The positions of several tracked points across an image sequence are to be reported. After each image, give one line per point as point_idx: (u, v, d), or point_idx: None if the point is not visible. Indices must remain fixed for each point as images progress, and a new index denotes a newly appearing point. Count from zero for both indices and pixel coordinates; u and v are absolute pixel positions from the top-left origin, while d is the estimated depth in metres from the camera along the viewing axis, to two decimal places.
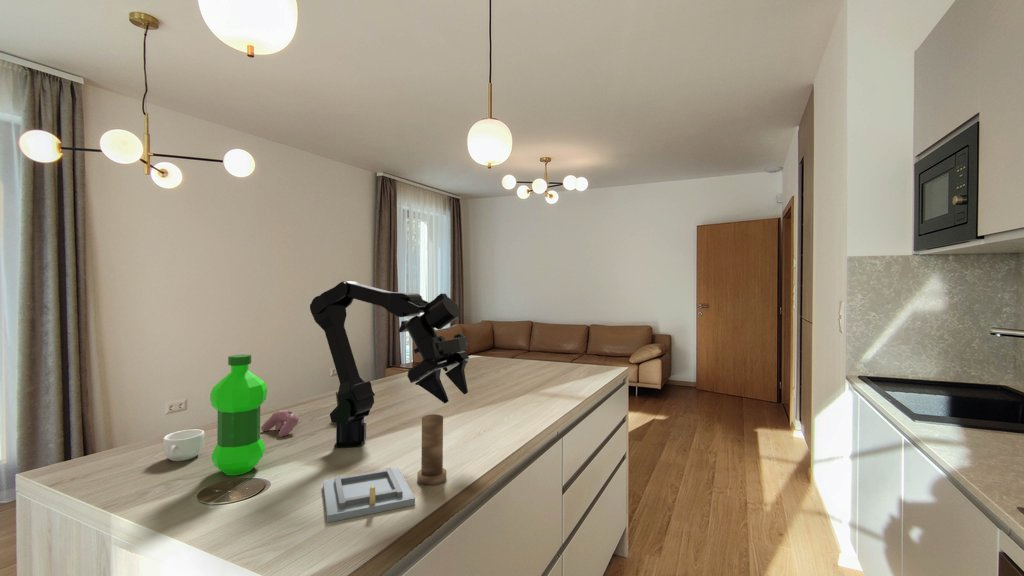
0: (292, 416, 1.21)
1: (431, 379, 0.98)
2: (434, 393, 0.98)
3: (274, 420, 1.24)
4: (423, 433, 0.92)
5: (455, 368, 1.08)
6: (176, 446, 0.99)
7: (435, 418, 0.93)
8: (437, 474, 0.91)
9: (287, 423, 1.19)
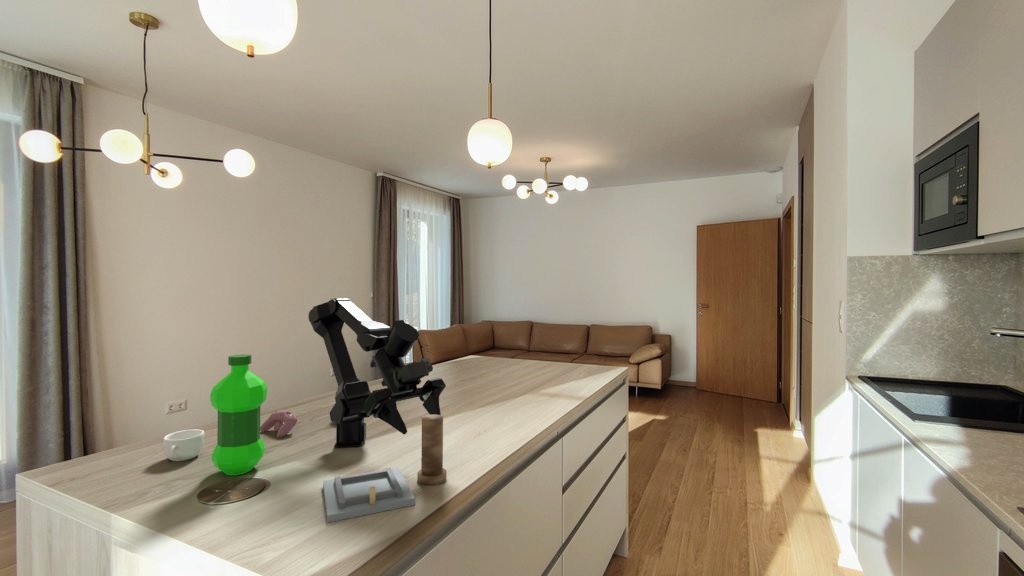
0: (291, 416, 1.21)
1: (389, 410, 0.93)
2: (393, 424, 0.92)
3: (272, 420, 1.23)
4: (423, 433, 0.92)
5: (429, 397, 1.02)
6: (176, 446, 0.99)
7: (435, 418, 0.93)
8: (437, 474, 0.91)
9: (285, 424, 1.19)
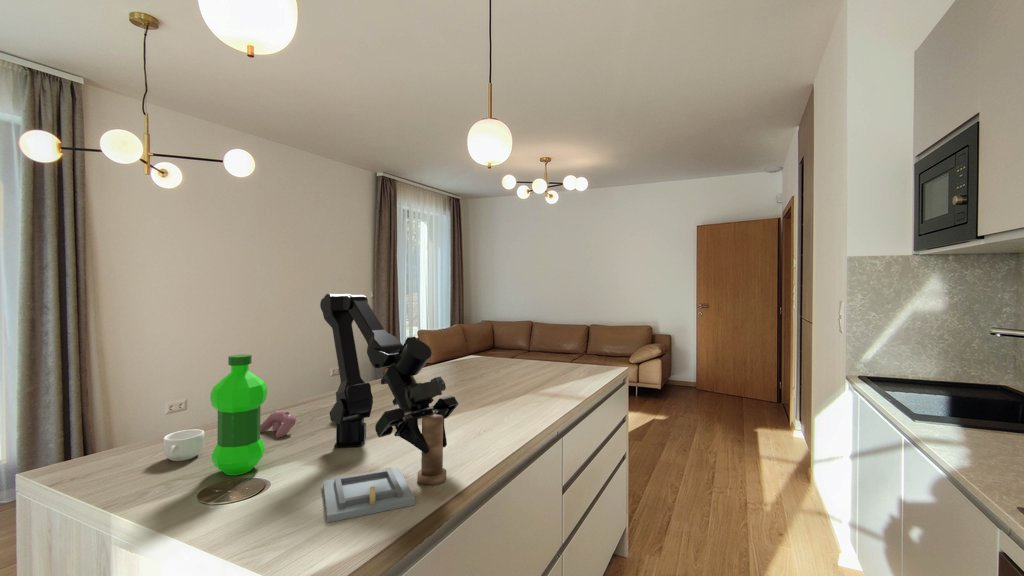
0: (289, 417, 1.20)
1: (410, 428, 0.92)
2: (414, 443, 0.91)
3: (271, 420, 1.23)
4: (423, 433, 0.92)
5: None
6: (176, 446, 0.99)
7: (435, 418, 0.93)
8: (437, 474, 0.91)
9: (284, 424, 1.19)
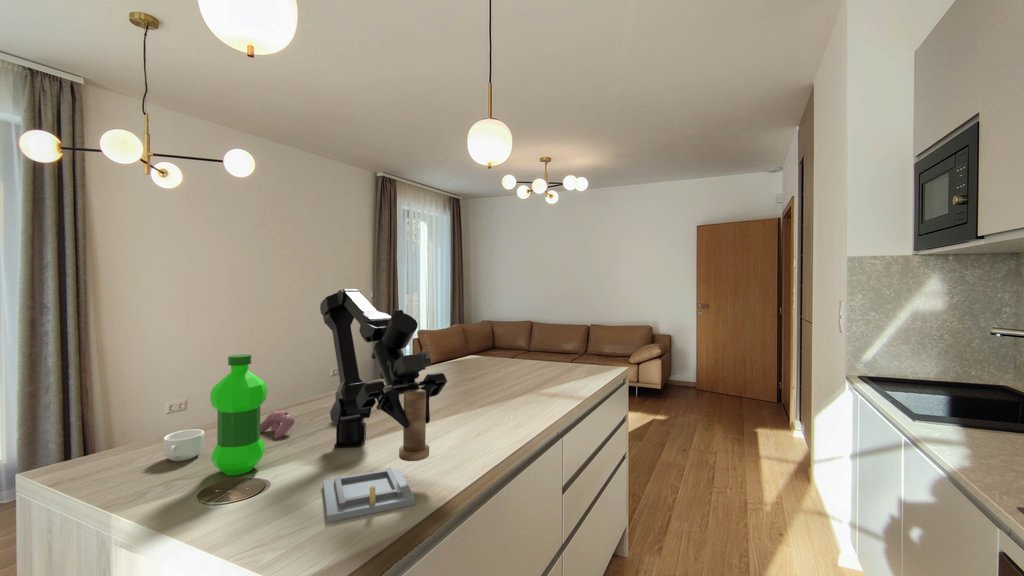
0: (288, 417, 1.20)
1: (392, 402, 0.90)
2: (395, 417, 0.89)
3: (270, 421, 1.23)
4: (404, 407, 0.89)
5: None
6: (176, 446, 0.99)
7: (417, 392, 0.90)
8: (418, 450, 0.88)
9: (283, 425, 1.18)
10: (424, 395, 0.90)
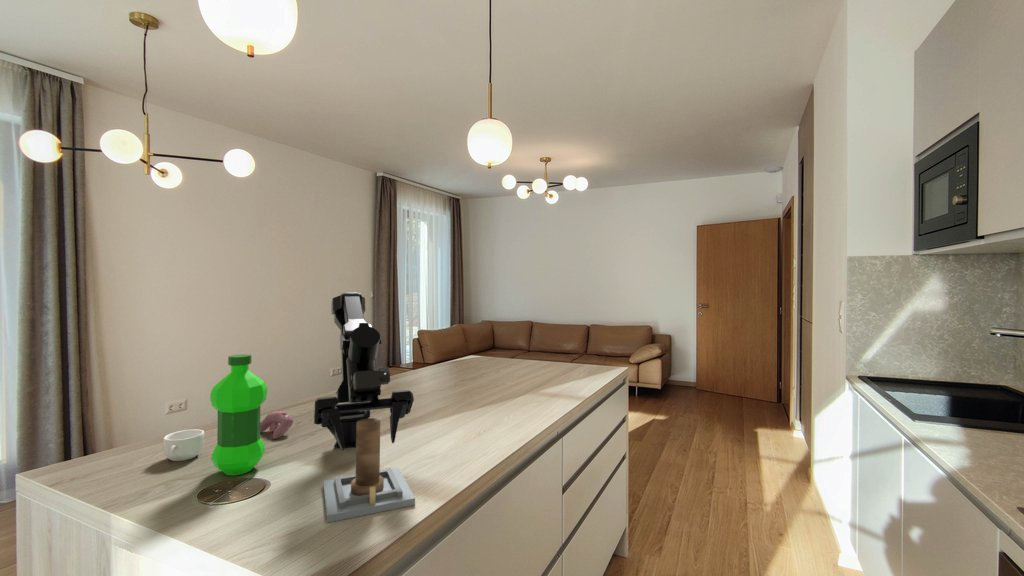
0: (286, 417, 1.20)
1: None
2: (335, 437, 0.84)
3: (268, 421, 1.22)
4: (356, 437, 0.85)
5: (392, 411, 0.90)
6: (176, 446, 0.99)
7: (369, 423, 0.85)
8: (367, 484, 0.83)
9: (281, 425, 1.18)
10: (375, 427, 0.84)
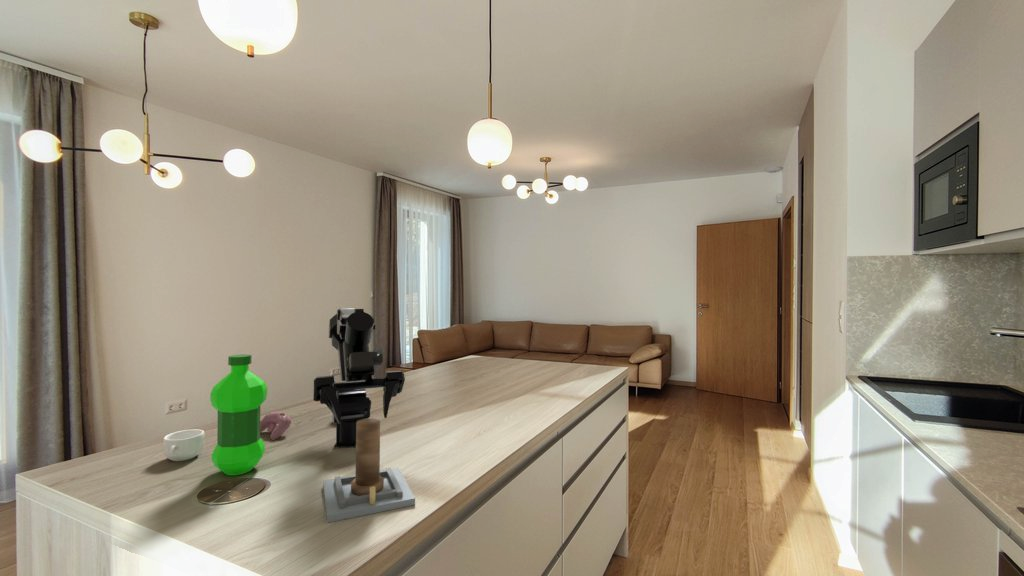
0: (284, 418, 1.19)
1: None
2: (332, 412, 0.92)
3: (266, 422, 1.22)
4: (356, 437, 0.85)
5: (384, 389, 0.98)
6: (176, 446, 0.99)
7: (369, 422, 0.85)
8: (367, 484, 0.83)
9: (279, 426, 1.17)
10: (375, 426, 0.84)
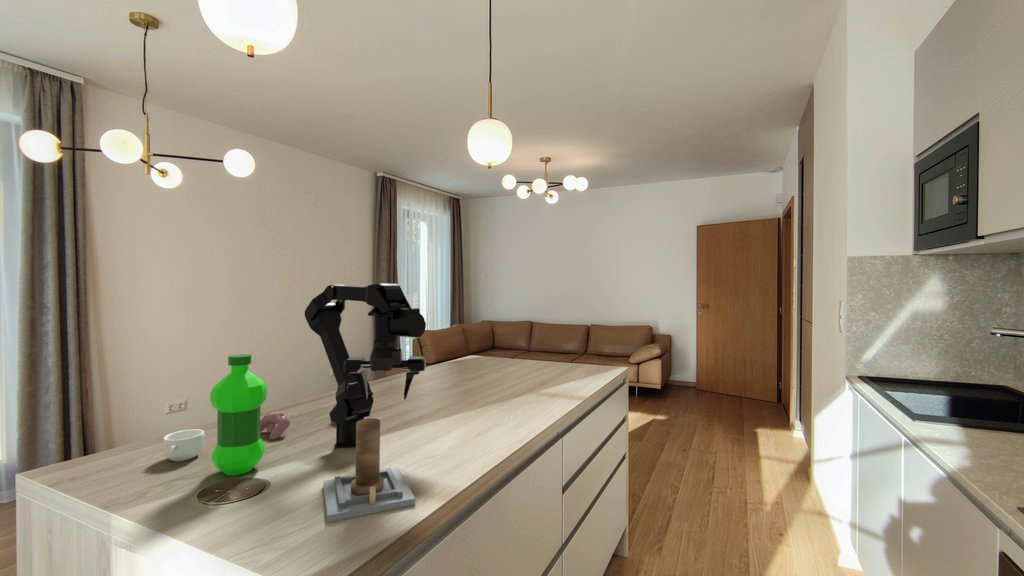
0: (283, 418, 1.19)
1: None
2: None
3: (265, 422, 1.22)
4: (356, 437, 0.85)
5: (407, 372, 1.08)
6: (176, 446, 0.99)
7: (368, 422, 0.85)
8: (367, 484, 0.83)
9: (278, 426, 1.17)
10: (375, 426, 0.84)
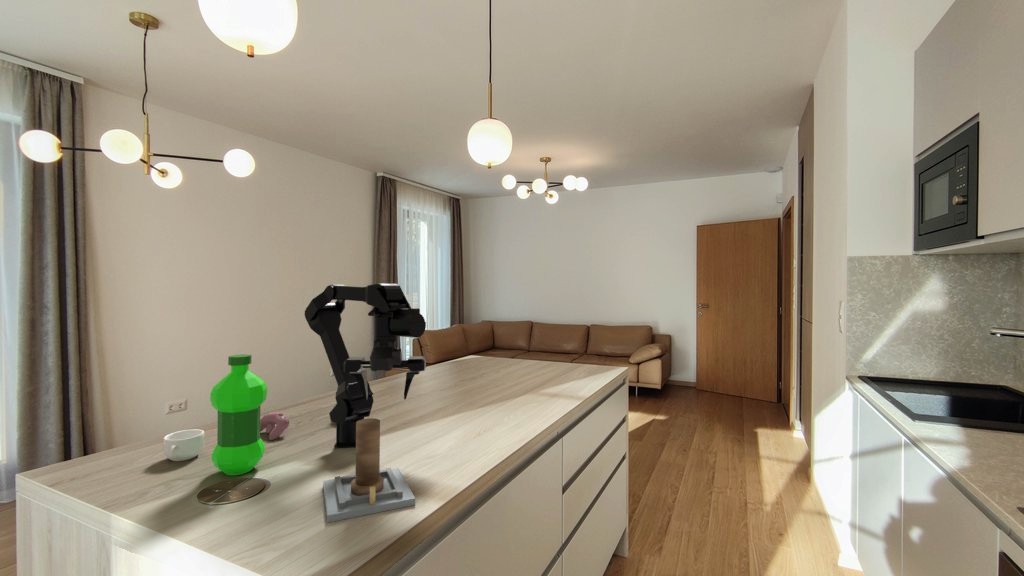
0: (283, 418, 1.19)
1: None
2: None
3: (264, 422, 1.21)
4: (356, 437, 0.85)
5: (407, 372, 1.08)
6: (176, 446, 0.99)
7: (368, 422, 0.85)
8: (367, 484, 0.83)
9: (277, 426, 1.17)
10: (375, 426, 0.84)
